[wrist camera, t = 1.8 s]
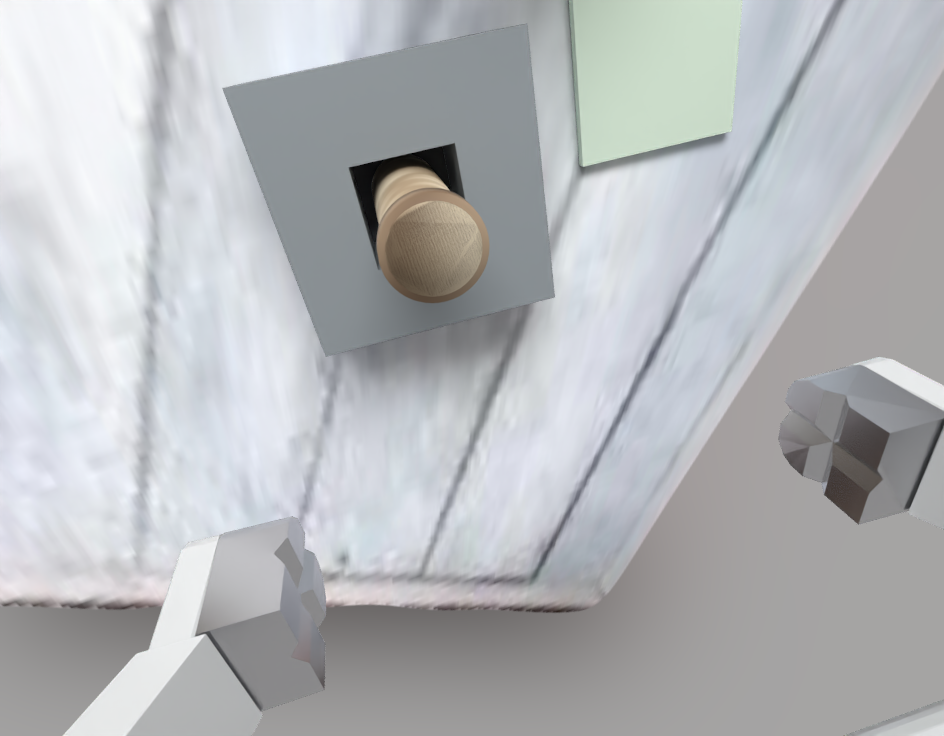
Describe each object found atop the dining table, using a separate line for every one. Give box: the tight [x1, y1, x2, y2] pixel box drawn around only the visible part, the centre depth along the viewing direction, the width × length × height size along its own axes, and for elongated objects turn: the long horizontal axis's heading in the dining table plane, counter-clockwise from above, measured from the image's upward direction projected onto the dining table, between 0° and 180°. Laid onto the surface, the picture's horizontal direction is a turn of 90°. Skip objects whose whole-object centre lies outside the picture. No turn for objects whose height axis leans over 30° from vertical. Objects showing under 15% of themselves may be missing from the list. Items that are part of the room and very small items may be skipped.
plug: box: [371, 154, 489, 303], centre depth 26 cm, size 5×5×12 cm
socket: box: [222, 24, 555, 357], centre depth 29 cm, size 14×14×5 cm
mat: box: [569, 0, 742, 167], centre depth 30 cm, size 10×10×1 cm
